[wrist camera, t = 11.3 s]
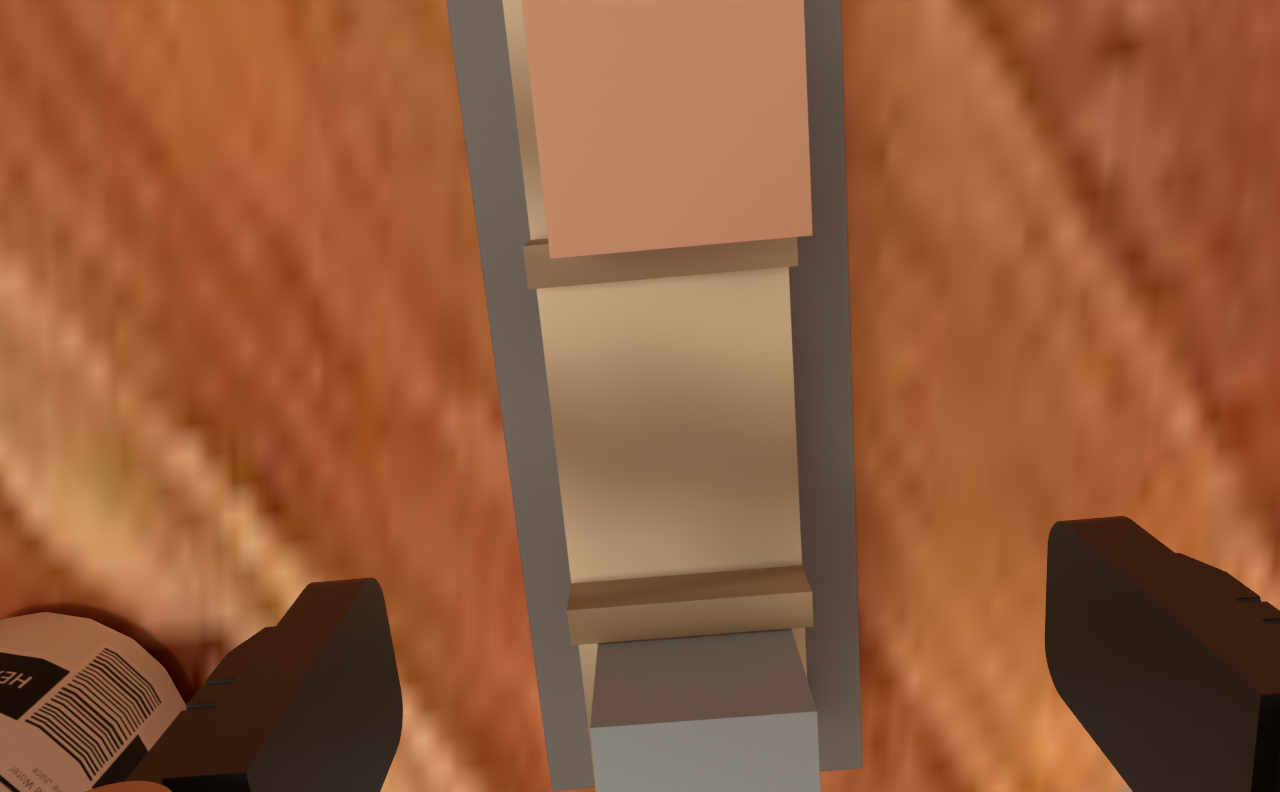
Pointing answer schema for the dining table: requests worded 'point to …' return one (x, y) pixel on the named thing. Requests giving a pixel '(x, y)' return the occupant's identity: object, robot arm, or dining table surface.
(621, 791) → the block
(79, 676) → the supplement can
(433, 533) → the dining table surface
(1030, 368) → the dining table surface
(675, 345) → the pallet
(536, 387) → the dock
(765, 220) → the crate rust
